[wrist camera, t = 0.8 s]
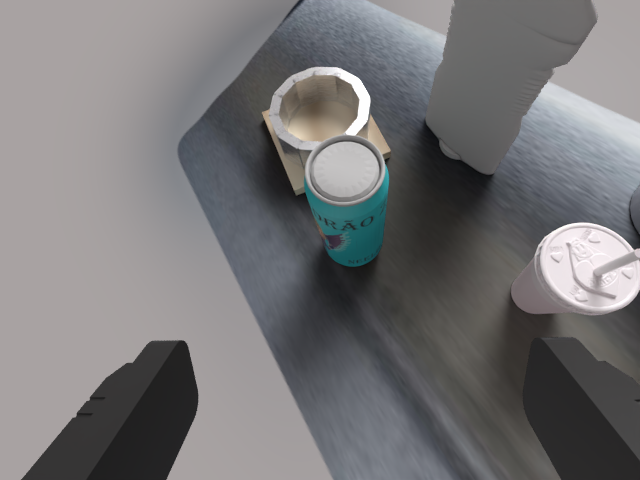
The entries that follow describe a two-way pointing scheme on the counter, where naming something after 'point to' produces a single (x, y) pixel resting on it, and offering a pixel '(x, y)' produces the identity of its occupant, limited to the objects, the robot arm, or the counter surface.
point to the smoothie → (579, 273)
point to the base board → (321, 132)
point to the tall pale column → (499, 71)
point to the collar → (310, 90)
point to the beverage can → (348, 197)
